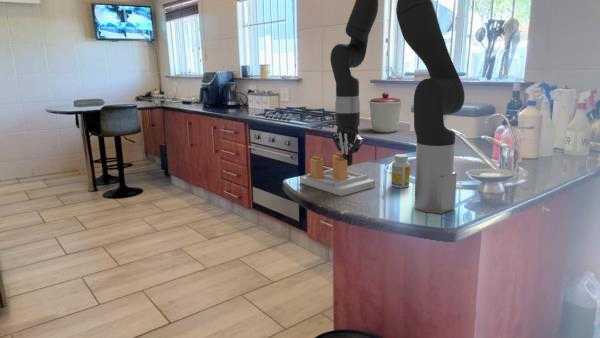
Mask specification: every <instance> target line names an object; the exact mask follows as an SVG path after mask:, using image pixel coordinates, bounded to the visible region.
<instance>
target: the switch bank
mask: <svg viewBox="0 0 600 338" xmlns="http://www.w3.org/2000/svg"><path fill="white" fill-rule="evenodd" d="M300 178H301V180H300V181H301V182H300V183H301V184H304V185H306V186H309V187H313V188H316V189H319V190H321V191H325V192H328V193H330V194H335V195H338V196H341V197H343V196H347V195H351V194H354V193H359V192H361V191H364V190H369V189H371V188H375V187H376V179H375V180H374V179H372V178H371V179H370V178H369V174H365V175H364V174H362V173H361V174H360V173H357V172H353V171H349V170H347V179H344V180H340V179H337V178H334V172H333V168H330V169H328V170H324V178H321V179H317V178H313V177H310V173H308V174H306V175H304V176H300Z"/></svg>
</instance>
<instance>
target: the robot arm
mask: <svg viewBox="0 0 600 338" xmlns="http://www.w3.org/2000/svg"><path fill="white" fill-rule="evenodd" d="M395 11H396V19H397V22H398V26H399V29H400V31H401V35H402V37H403V39H404V40H405V42H406V44H407V45H408V46H409V47H410V49H411V50H412V51H413V52H414V53H415V54H416V56H417V57H418V58H419V59H420V60H421V61H422V63H423V64H424V65H425V67H426V70H427V72H428V75H429V78H424V79H422V80H420V81H419V83H418V84H417V85H416V88H415V90H414V95H413V128H414V133H415V135H416V152H415V153H416V154H415V176H414V177H415V178H414V205H413V206H414V208H415V209H416V210H418V211H421V212H425V213H430V214H431V213H433V214H438V215H439V214H440V215H441V214H442V215H443V214H445V213H446V212H447V213H448V212H450V211H452V210H453V211H454V210H455V207H456V194H457V193H456V190H457V173H456V172H454V162H455V161H454V160H455V145H456V144H455V143H456V133H455V131H453V130H452V129H448V128H447V127H446V126H445V123H444V116H446V115H452V114H455V113H458V112H460V111H461V109H462V108H463V106H464V103H465V95H466V94H465V89H464V86H463V83H462V81H461V78H460V76H459V74H458V71H457V69H456V67H455V65H454V62H453V60H452V58H451V56H450V53H449V50H448V48H447V47H448V46H447V45H446V41H445V37H444V35H443V33H442V29H441V27H440V23H439V18H438V15H437V13H436V9H435V6H434V3H433V0H397V1H396V9H395ZM378 12H379V0H355V2H354V6H353V8H352V10H351V13H350V16H349V18H348V21H347V23H346V26H345V34H346V36H348V37H350V41H349V43H337V44H336V45H334V47H333V48H332V50H331V53H330V57H329V58H330V65H331V70H332V74H333V77H334V81H335V105H334V106H335V107H334V108H335V109H334V112H335V113H334V114H335V115H334V116H335V118H334V119H335V120H334V121H335V123H334V124H335V126H336V127H337V128H336V132H335V133H334V134H332V135H331V138H332V141H333V142H334V144H335V146H336V149H337V151H338V152H341V154H343V158H344V159H345V160H347V167H349V166H352V165H353V154H355V153H358V151H359V150H360V148H361V146H362V145H363V144H364V142H365V138H364V137H361V136H360V132H359V127H360V125H361V124H360V122H361V121H360V119H361V117H360V116H361V115H360V114H361V111H360V110H361V106H360V105H361V104H360V96H359V95H360V82H359V78H358V77H357V76H355V75H352V73H351V69H352V68H353V69H354V68H358V67H359V66H360V65H361V64H362V63H363V62H364V60H365V58H366V55H367V47H368V43H369V42H368V41H369V35H370V33H371V31H372V28H373V25H374V23H375V22H376V19H377V15H378Z"/></svg>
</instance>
